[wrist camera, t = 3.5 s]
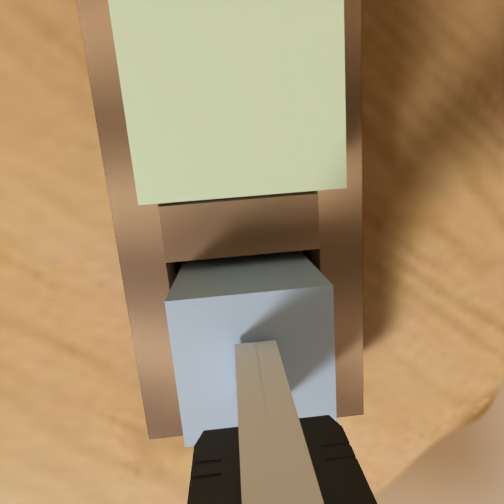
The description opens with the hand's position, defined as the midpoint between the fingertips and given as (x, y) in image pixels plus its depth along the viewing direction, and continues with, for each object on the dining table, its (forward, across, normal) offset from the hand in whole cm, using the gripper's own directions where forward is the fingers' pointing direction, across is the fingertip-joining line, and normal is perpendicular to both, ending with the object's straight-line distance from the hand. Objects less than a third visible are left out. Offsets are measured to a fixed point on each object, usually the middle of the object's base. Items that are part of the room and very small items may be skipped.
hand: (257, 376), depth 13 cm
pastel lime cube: (+6, 0, +10) cm, 11 cm away
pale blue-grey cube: (+7, 0, 0) cm, 7 cm away
